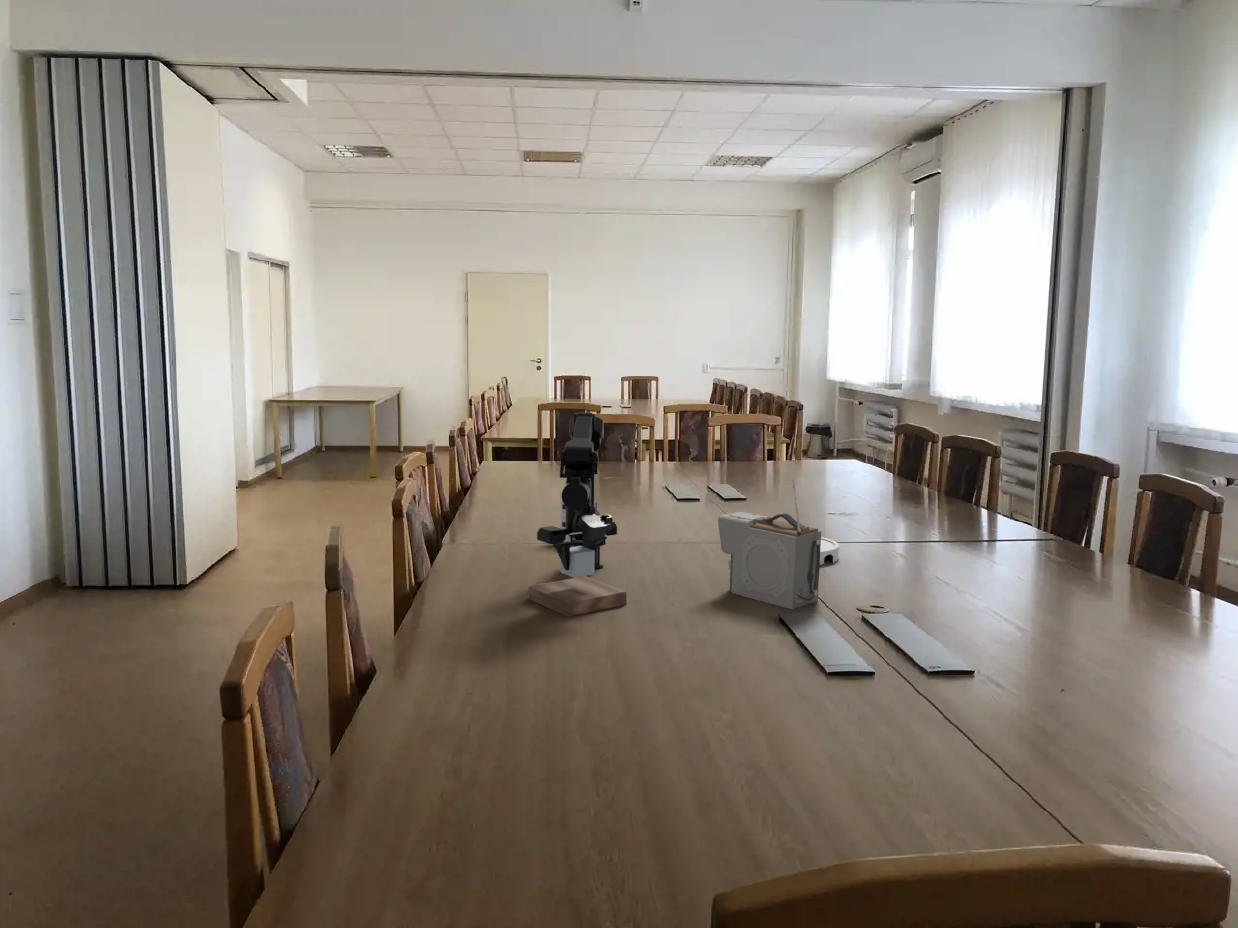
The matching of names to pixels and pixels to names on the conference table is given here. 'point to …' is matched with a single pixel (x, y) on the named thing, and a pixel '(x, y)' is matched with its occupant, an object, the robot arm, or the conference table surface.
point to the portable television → (772, 558)
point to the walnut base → (577, 595)
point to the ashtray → (828, 549)
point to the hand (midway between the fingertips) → (577, 568)
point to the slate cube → (580, 562)
